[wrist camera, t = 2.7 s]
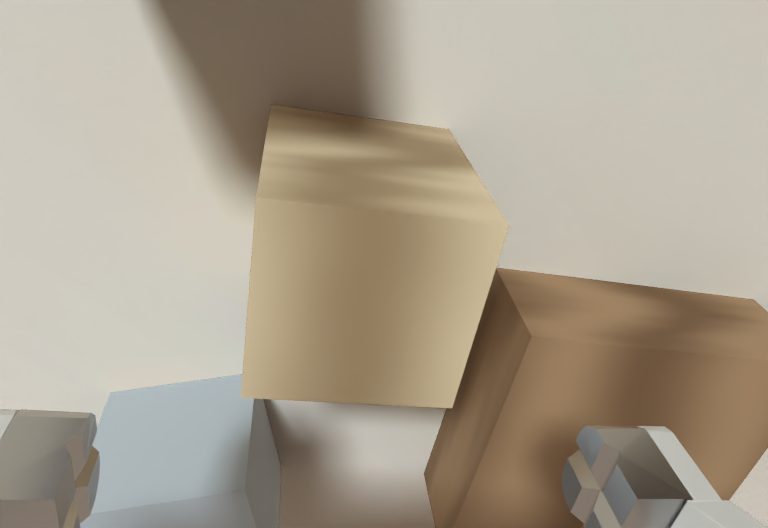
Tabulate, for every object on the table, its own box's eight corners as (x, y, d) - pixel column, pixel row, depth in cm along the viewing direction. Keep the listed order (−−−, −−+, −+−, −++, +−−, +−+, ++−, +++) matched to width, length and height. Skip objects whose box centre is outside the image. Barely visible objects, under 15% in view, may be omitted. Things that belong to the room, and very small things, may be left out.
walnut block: (747, 293, 22) (828, 366, 19) (636, 477, 27) (684, 560, 24) (493, 262, 20) (531, 336, 17) (422, 466, 25) (441, 556, 22)
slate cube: (256, 370, 21) (244, 490, 17) (281, 466, 24) (276, 590, 19) (111, 390, 21) (61, 518, 16) (152, 485, 23) (119, 616, 19)
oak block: (448, 128, 17) (509, 225, 12) (413, 275, 20) (452, 408, 15) (271, 104, 16) (256, 197, 11) (257, 262, 19) (240, 397, 14)
